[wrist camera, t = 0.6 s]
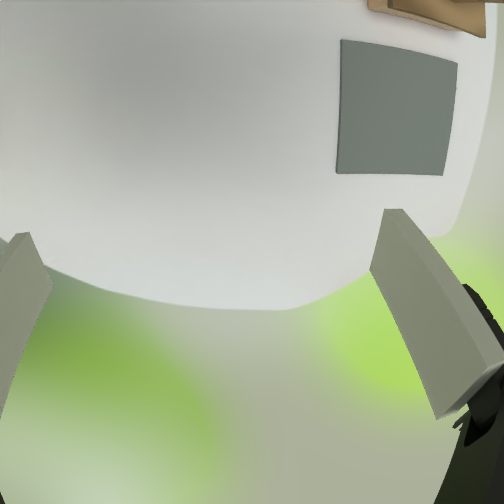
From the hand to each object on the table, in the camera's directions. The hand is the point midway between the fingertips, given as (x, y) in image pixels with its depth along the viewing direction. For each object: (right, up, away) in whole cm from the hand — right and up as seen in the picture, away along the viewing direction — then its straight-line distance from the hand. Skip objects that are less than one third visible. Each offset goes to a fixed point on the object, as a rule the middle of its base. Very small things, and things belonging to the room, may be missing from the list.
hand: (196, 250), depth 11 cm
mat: (+21, +18, +23) cm, 35 cm away
